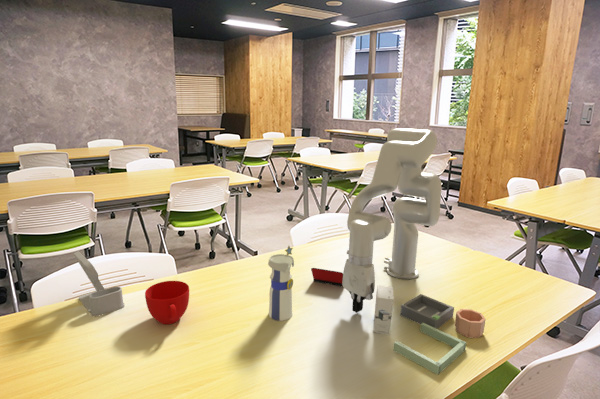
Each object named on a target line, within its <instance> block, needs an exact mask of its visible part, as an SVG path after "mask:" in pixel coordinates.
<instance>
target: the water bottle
mask: <svg viewBox="0 0 600 399" xmlns="http://www.w3.org/2000/svg"><path fill="white" fill-rule="evenodd" d="M293 249H294V247H290V244H289V245H287V248H286V249H285V250H284V252H286V254H284V253H281V254H279V253H278V254H273V255H271V256H270V257H269V259H268V264H267V265H268V266H269V267H270V268H271V273H270V275H269V279H270V287H269V300H268V301H269V306H268V307H269V308H268V317H269V318H270V319H272V320H274V321H287V320H289V319H291V318H292V316H293V289H292V287H293V285H294V279H293V275H292V274H291V271H290V270H291V267H292V268H294V265H295V261H294V257H293V256H291V255H292V254H293V253H292V250H293Z"/></svg>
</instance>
